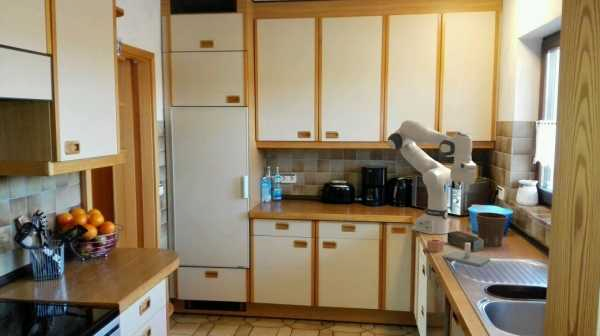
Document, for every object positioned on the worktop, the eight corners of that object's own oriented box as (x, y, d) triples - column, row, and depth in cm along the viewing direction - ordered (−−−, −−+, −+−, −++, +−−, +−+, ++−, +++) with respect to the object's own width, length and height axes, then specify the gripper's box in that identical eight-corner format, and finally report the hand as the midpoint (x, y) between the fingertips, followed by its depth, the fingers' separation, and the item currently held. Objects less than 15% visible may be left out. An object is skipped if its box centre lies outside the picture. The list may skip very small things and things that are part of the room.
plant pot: (491, 238, 264) (492, 211, 262) (512, 245, 249) (514, 216, 247) (468, 241, 258) (469, 213, 257) (488, 248, 243) (490, 219, 241)
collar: (427, 250, 241) (427, 240, 240) (432, 247, 245) (432, 238, 244) (437, 252, 237) (438, 243, 236) (443, 250, 241) (443, 240, 240)
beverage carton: (473, 252, 238) (473, 239, 237) (446, 243, 255) (446, 231, 254) (484, 250, 242) (484, 237, 241) (456, 241, 259) (457, 229, 258)
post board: (444, 258, 227) (444, 242, 226) (454, 253, 235) (455, 237, 234) (480, 266, 214) (481, 249, 213) (490, 260, 223) (491, 244, 222)
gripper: (447, 162, 253) (446, 186, 255) (467, 165, 233) (465, 192, 235) (458, 162, 254) (457, 186, 256) (478, 165, 234) (477, 192, 236)
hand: (461, 189), depth 245 cm, fingers open, 8 cm apart
